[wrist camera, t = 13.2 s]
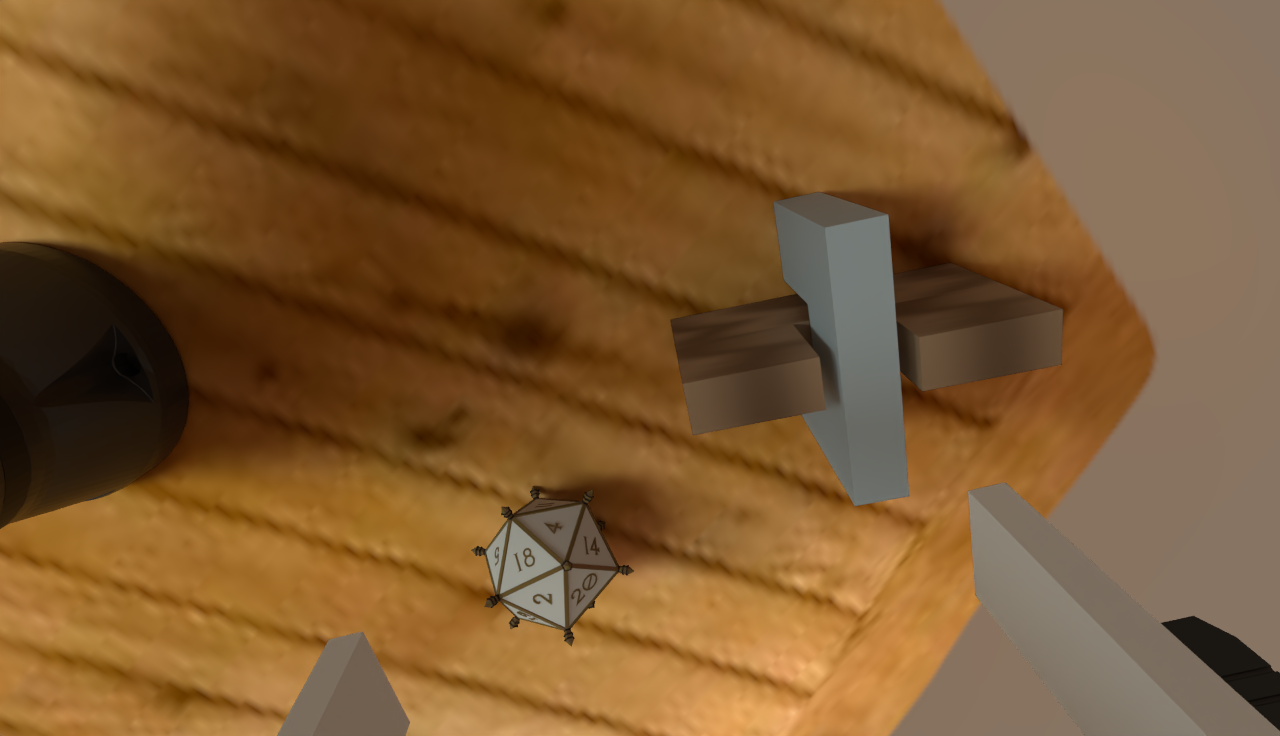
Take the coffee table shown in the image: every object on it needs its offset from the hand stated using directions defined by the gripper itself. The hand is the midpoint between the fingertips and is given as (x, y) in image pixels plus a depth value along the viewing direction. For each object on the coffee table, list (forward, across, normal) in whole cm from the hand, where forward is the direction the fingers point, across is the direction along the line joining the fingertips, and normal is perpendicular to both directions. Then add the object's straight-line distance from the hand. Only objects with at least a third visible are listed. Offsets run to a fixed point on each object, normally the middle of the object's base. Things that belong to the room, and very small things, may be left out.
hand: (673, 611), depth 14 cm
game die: (+25, -8, -13) cm, 29 cm away
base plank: (+24, +10, -3) cm, 26 cm away
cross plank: (+24, +10, -3) cm, 26 cm away
